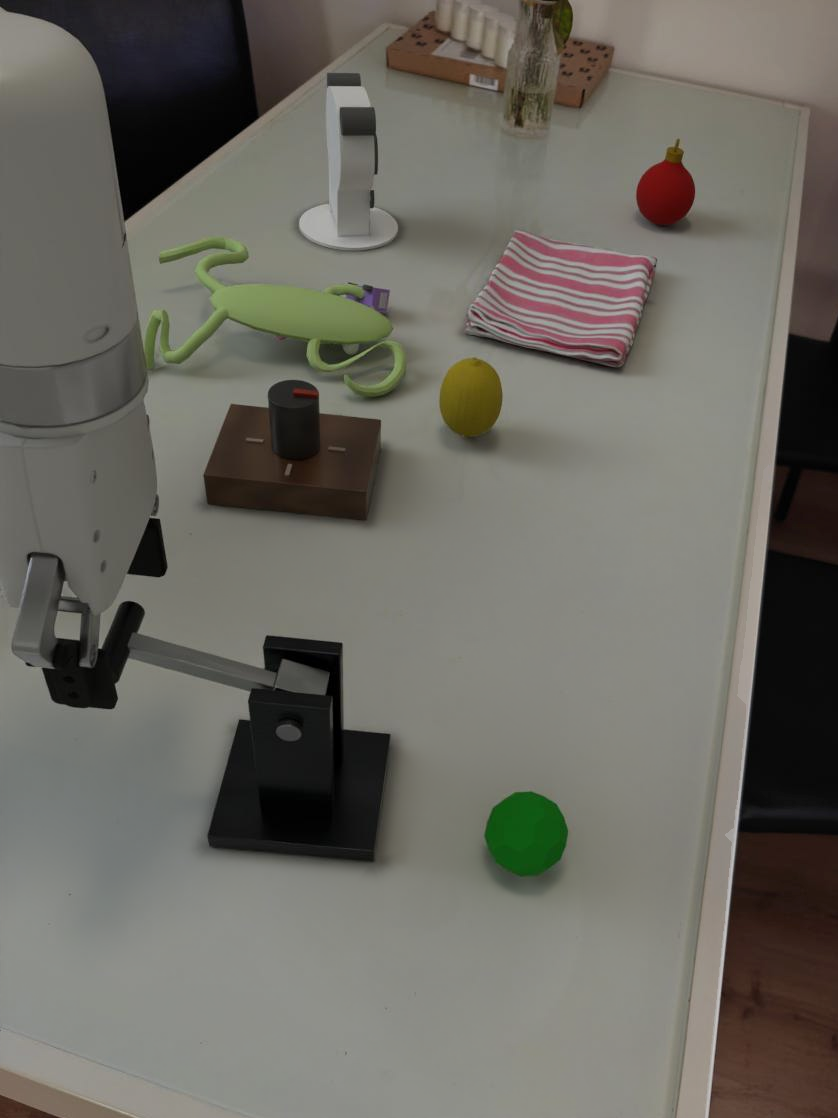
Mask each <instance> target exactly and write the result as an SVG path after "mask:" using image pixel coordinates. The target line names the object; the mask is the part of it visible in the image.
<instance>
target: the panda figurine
mask: <svg viewBox="0 0 838 1118" xmlns="http://www.w3.org/2000/svg"><path fill="white" fill-rule="evenodd" d="M326 88H327V89H326V96H325V132H326V148H327V158H328V203H324V204H320V205H317V206H314V207H312V208H310V209H307V210H306V211H305V212H304V213H302V215H301V216H300V217H299V220H298V227H299V231H300V233H301V234H302V235H303V236H304V237H305V238H306V239H307V240H309V241H311V242H312V243H315V244H316V245H319V246H322V247H325V248H329V249H333V250H339V251H349V252H350V251H351V252H355V251H356V252H357V251H358V252H359V251H369V250H374V249H377V248H380V247H384V246H386V245H388V244H390V243H391V242H393V241H394V240H395V239H396V237H397V235H398V233H399V224H398V222H397V220H396V219H395V217H393V216H392V215H391V214H390V213H388V212H387V211H385V210H383V209H381V208H378V207H375V201H376V199H375V198H376V197H375V190H374V189H372V188H373V185H374V181H375V176H377V175H378V172H379V145H378V144H379V143H378V135H377V117H376V110H375V109H376V108H375V107H374V106H371V101H370V99H369V96H368V93H367V90H366V88H365V87H364V86H362V78H361V74H360V72H326Z"/></svg>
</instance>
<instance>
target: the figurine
mask: <svg viewBox="0 0 838 1118" xmlns="http://www.w3.org/2000/svg"><path fill="white" fill-rule="evenodd" d="M208 250H226V251H227V252H215V253H212V254H209V255H206V256H204V257H203V258H202V259H201V260H200V261H199V262H198V263H197V265H196V268H195V271H194V274H195V277H196V278H197V280H198V282H199V283H200V284H201V285H203V286H204V287H205V288H206V289H208V290H209V291H210V292H212V293H213V294H211V296H209V300H210V303H211V305H212V307H213V309H214V312H213V313H211V315H210V317H209V318H208V319H207V320H206V321H205V323H204V324H202V325H201V327H200V328H198V329H197V330H196V331H195V332H193V334H192V335H191V336H190V337H188V338H187V340H186V341H185V342H184V343H183V344H182V345H181V346H180V347H179V348H177V349H176V350H171V346H170V344H169V341H170V340H169V336H170V318H169V314H168V312H167V311H166V310H165V309H153V311H152V313H151V315H150V316H149V318H148V320H147V324H146V328H145V334H144V344H143V348H144V355H145V361H146V369H147V370H152V369H153V368H154V367H155V348H156V347H155V346H156V340H157V339H156V338H157V334H158V330H159V328H160V336H159V352H160V354H161V356H162V358H163V360H164V362H165V363H166V364H173V365H174V364H175V365H180V364H182V363H183V362H185V361H186V360H188V359H189V358H190V357H191V356H192V355H193V354H194V353H195V352H196V351H197V350H198V349H199V348H200V347H201V346H202V345H203V344H204V343H205V342H207V341H208V340H209V339H210V338H211V337H212V336H213V335H214V334H215V333H216V332H217V331H218V330H219V328H220V327H221V326H222V325H223V323H224V322H225V321H226V320H228V319H229V320H230V321H233V322H236V323H237V324H240V325H242V326H245V327H247V328H250V329H253V330H254V331H255V330H256V331H259V332H262V333H266V334H269V335H274V336H275V339H276V340H277V341H282V340H285V339H292V340H298V341H304V342H308V343H307V347H306V355H305V356H306V359H307V360H308V364H309V366H310V367H312V368H313V369H314V370H315V371H317V372H318V373H319V372H320V373H332V372H336V371H340V370H342V369H344V368H346V367H348V366H350V365H352V364H353V363H355V362H357V361H358V360H360V359H361V358H362V357H363V356H365V355H366V354H367V353H368V352H370V351H371V350H373V349H377V348H379V347H380V348H385V349H389V351H390V352H391V353H392V355H393V358H394V359H393V360H394V363H393V364H394V365H393V369H392V370H391V372H390V374H389V375H388V376H387V377H386V378H385V379H383V380H382V381H381V382H379V383H377V384H371V385H364V384H363V385H362V384H359V383H356V382H353V380H352V379H351V378H350V377H349V376H348V375H347V374H344V375H343V380H344V381H343V382H344V384H345V386H346V387H347V388H348V389H349V390H351V392H352V393H354V394H355V395H357V396H361V397H364V398H377V397H380V396H381V397H382V396H384V395H387V394H388V393H389V392H391V391H392V390H393V389H395V388H396V387H397V386H398V385H399V384H400V382H401V381H402V380H403V378H404V376H405V374H406V370H407V365H408V361H407V353H406V351H405V349H404V348H403V347H402V345H401V344H400V343H399V342H397V341H396V342H395V341H393V340H391V339H389V340H385V341H381V342H379V343H377V344H375V345H373V346H371V347H369V348H368V349H366V350H364V351H362V352H361V353H359V354H357V352H358V351H359V348H360V344H368V343H369V344H370V343H374V342H377V341H380V340H383V339H386V338H388V337H389V336H390V335H391V333H392V332H393V331H394V327H393V324H392V323H391V321H390V319H389V318H388V317H386V316H385V315H383V313H387V311H388V305H389V299H390V293H391V290H390V289H385V288H379V287H375V286H372V285H368V284H362V285H359V284H358V283H353V282H350V281H347V283H343V284H337V285H336V284H335V285H329V286H327V287H326V288H324V290H319V289H313V288H306V287H300V286H295V285H287V284H275V283H274V284H271V283H245V284H233V285H229V286H227V285H225V284H223V283H222V282H220V281H219V280H218V279H216V278H215V277H214V276H213V275H211V274H210V273H209V272H210V270H211V269H213V268H215V267H219V266H225V265H237V264H238V265H239V264H244V263H245V262H246V261H248V259H249V258H250V256H249V251H248V249H247V247H246V245H245V244H243V243H242V242H240V241H238V240H235V239H232V238H229V237H224V236H208V237H204V238H201V239H199V240H197V241H194V242H191V243H187V244H183V245H181V246H179V247H174V248H170V249H166V250H161V251H159V254H158V263H159V264H160V265H161V264H166V263H169V262H174V261H178V260H181V259H183V258H186V257H189V256H193V255H196V254H200V253H202V252H204V251H208ZM343 295H344V296H343ZM160 325H161V327H160ZM322 344H328V345H330V346H331V347H333V346H334V345H342V350H343V352H345V353H346V354H347V355H348V356H353V355H355V354H356V355H355V356H353V357H350V358H349V359H346V360H344V361H342V362H339V363H335V364H329V363H327V362H325V361H323V360H322V358H321V356H320V348H321V345H322Z"/></svg>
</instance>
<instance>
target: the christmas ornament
mask: <svg viewBox="0 0 838 1118" xmlns="http://www.w3.org/2000/svg"><path fill="white" fill-rule="evenodd" d="M679 146H680V138H676V140H675V144H674V146H670V147H669V146H668V147H667V148H666V152H665V153H666V154H665V157H664V159H663V160H662V161H661V162H658V163H656V164H653V165H652V166H650V167H649V168H648V169H647V170H645V172H644V173H643V174H642V175H641V177H640V179H639V180H638V183H637V186H636V192H635V200H636V205H637V208H638V210H639V212H640V213H641V215H642V216H643V217H644V218H645V219H646V220H647V221H648V222H650V223H652V224H654V225H657V226H668V225H673V224H675V223H678V222H679V221H681V220H683V218H684V217H686V216H687V214H688V213H689V212H690V211H691V209H692V207H693V205H694V202H695V199H696V185H695V181H694V178H693V176H692V174H691V172H689V170H688V169H687V168H686V167H685V166H684V164H683V156H684V154H685V151H684V149H682V148H680V147H679Z"/></svg>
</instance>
